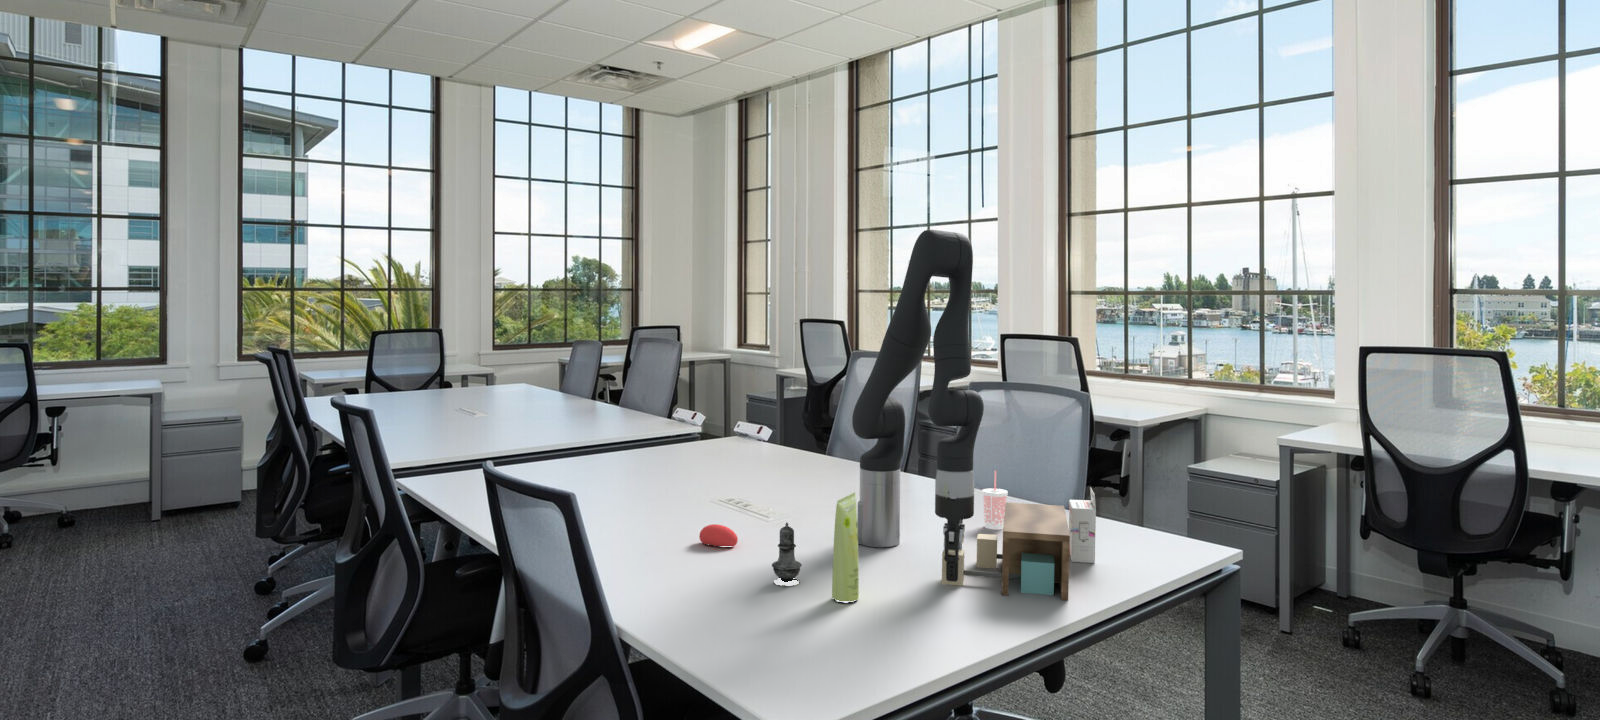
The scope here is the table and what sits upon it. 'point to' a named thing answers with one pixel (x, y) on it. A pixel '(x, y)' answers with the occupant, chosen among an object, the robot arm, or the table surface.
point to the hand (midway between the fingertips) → (953, 574)
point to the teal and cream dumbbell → (1033, 574)
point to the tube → (845, 551)
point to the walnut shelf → (1035, 540)
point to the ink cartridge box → (1082, 529)
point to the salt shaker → (786, 556)
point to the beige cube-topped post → (987, 551)
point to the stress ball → (718, 535)
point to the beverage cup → (994, 506)
